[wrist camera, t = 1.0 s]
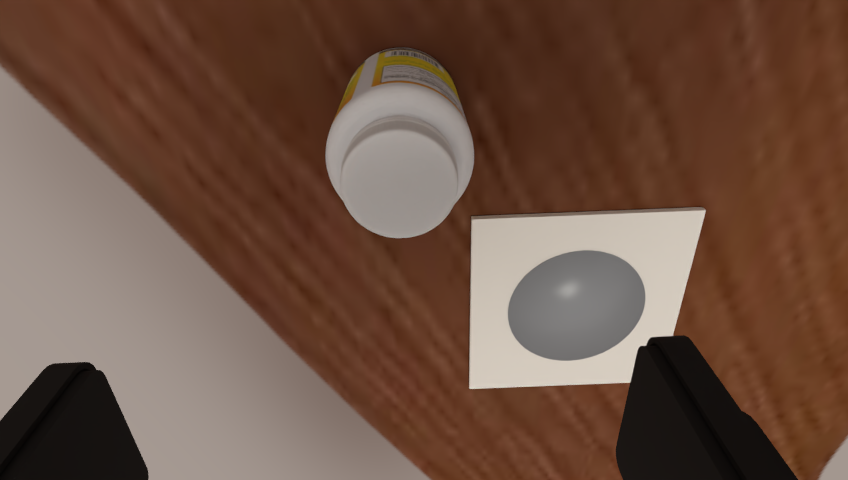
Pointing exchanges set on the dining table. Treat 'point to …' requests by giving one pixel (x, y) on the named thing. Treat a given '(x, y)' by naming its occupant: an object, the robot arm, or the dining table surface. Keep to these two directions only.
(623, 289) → the card
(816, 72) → the dining table surface
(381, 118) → the supplement bottle
